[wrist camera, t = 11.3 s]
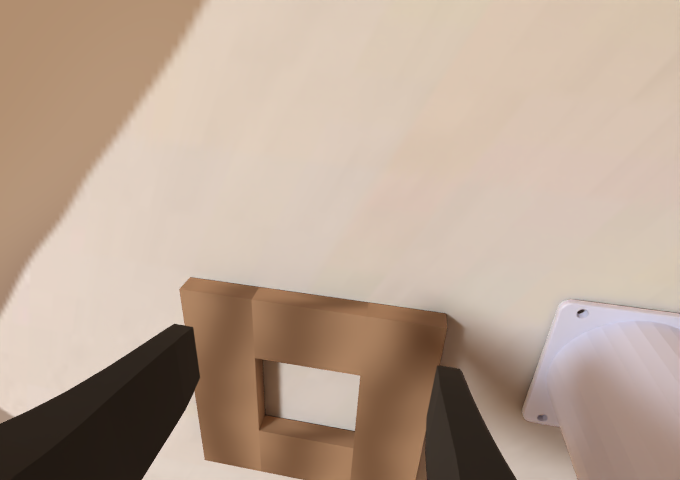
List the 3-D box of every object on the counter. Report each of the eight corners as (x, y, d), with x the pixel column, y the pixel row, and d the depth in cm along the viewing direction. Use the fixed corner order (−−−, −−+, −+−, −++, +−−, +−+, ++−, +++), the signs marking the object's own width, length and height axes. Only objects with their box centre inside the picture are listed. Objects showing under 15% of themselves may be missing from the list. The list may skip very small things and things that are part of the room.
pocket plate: (446, 313, 22) (447, 328, 21) (411, 483, 28) (411, 501, 27) (190, 277, 24) (179, 289, 23) (212, 444, 30) (204, 460, 29)
